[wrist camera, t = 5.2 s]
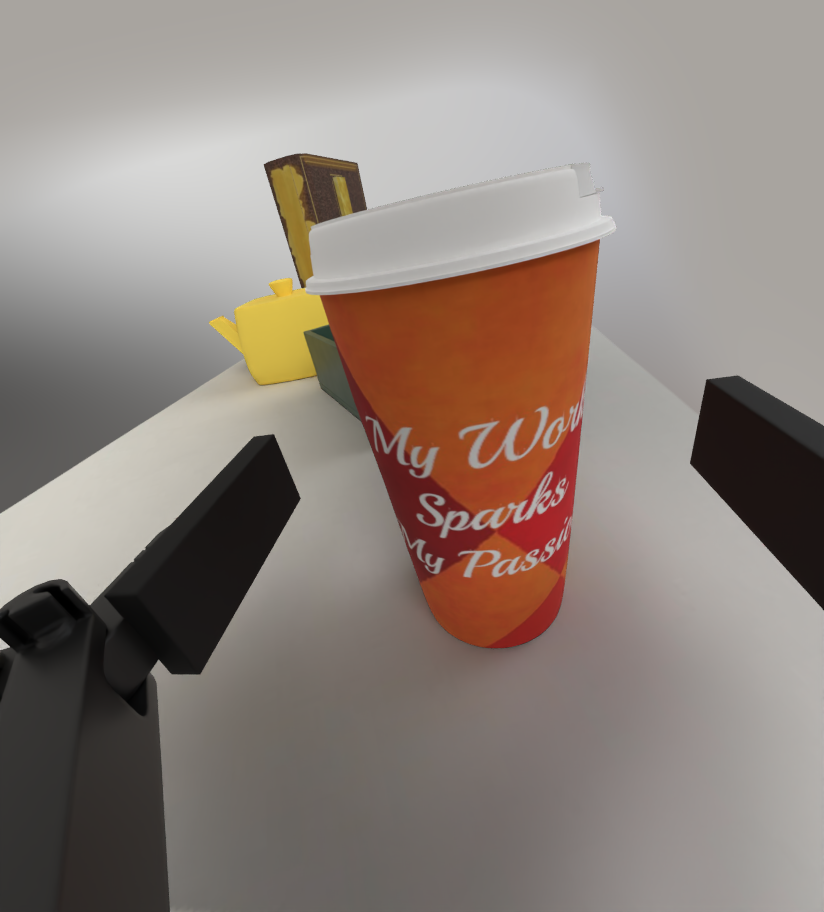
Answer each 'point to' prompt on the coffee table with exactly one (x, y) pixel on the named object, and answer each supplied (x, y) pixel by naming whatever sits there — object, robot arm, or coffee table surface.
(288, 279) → the teapot
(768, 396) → the robot arm
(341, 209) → the book
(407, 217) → the coffee cup
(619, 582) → the coffee table surface
